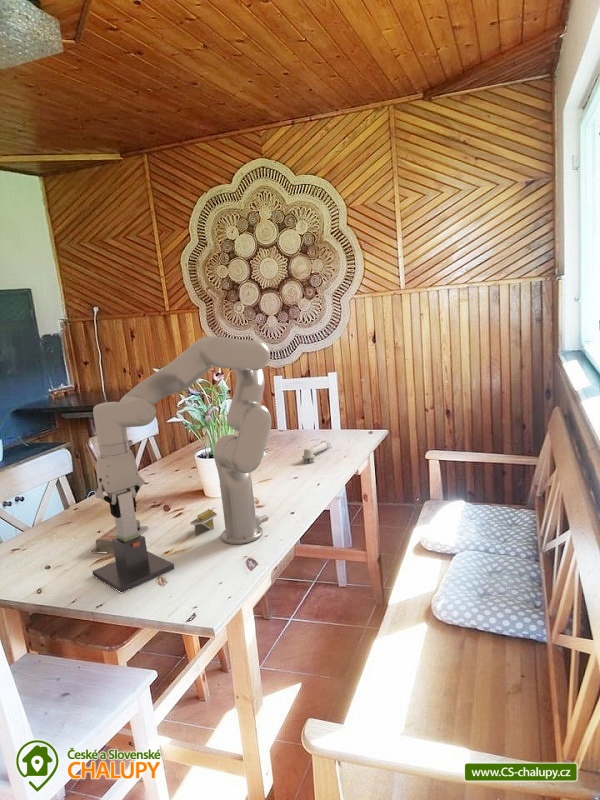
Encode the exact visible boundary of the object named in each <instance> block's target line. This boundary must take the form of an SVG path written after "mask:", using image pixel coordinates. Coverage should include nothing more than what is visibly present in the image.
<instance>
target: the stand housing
mask: <svg viewBox="0 0 600 800" xmlns="http://www.w3.org/2000/svg"><path fill="white" fill-rule="evenodd" d="M112 543H113V549H114V554H113V555H114V561H113V562H110V563H108V564H106V565H103V566H102V567H99V568H97V569H94V570H92V576H93V575H94V576H95V577H94V576H93V577H94V578H96V577H97V578H98V579H97V578H96V579H97V580H99V579H100V580H101V582H102V581H103V582H102V583H104V582H105V583H106V584H105V583H104V584H105V585H107V584H108V585H110V586H111V587H110V586H109V587H110V588H112V587H113V588H115V589H117V590H118V591H120V592H123V593H125V592H127V591H126V590H128V589H130V590H131V588H132V589H134V588H136V587H139V586H140V585H143V584H144V583H148V582H149V581H151V580H153V579H155V578H158V577H160V576H162V575H164V574H167V573H168V572H171V571H173V570H175V564H174V563H173V562H171V561H168V560H166V559H165V558H163V557H161V556H158V555H156V554H154V553H152V552H150V551H148V548H147V542H146V537H145V536H143V535H142V536H141V535H139V538H138V539H136V540H133V541H131V542H128V543H126V544H124V543H122V542H120V541H118V538H116V539H113V540H112ZM100 580H99V581H100ZM108 585H107V586H108ZM133 587H134V588H133ZM113 588H112V589H113ZM115 589H114V590H115ZM117 590H116V591H117ZM118 591H117V592H118ZM124 591H125V592H124ZM128 591H129V590H128ZM120 592H119V593H120Z"/></svg>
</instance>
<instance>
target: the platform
mask: <svg viewBox="0 0 600 800" xmlns="http://www.w3.org/2000/svg"><path fill="white" fill-rule="evenodd" d="M196 517H197V518H196V519H194V520H193V521H192V520H191V521H190V525H191V526H194V529H195V537H198V536H200V535H201V534H203V533H204V532H206V531H208V530H214V529H215V526H214V525H215V524H214V518H216V517H218V514H217V513H216V512H215V511H214V509H207V510H205V511H203V512H201V513H199V514H197V515H196Z"/></svg>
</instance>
